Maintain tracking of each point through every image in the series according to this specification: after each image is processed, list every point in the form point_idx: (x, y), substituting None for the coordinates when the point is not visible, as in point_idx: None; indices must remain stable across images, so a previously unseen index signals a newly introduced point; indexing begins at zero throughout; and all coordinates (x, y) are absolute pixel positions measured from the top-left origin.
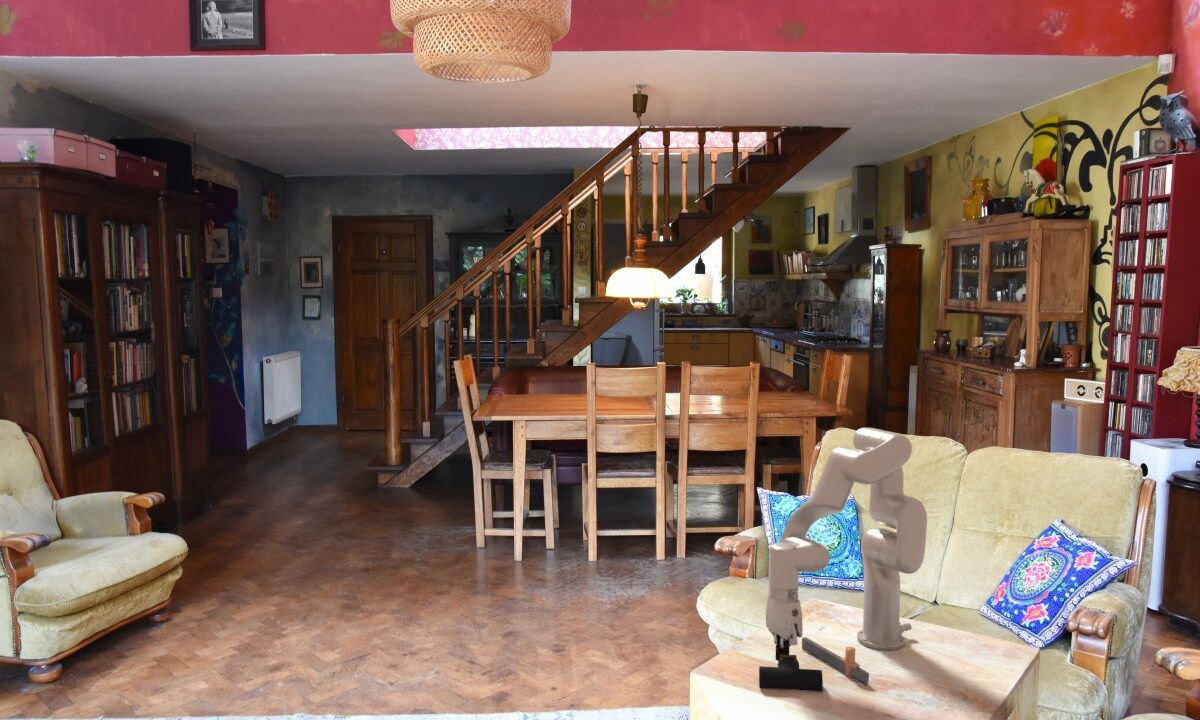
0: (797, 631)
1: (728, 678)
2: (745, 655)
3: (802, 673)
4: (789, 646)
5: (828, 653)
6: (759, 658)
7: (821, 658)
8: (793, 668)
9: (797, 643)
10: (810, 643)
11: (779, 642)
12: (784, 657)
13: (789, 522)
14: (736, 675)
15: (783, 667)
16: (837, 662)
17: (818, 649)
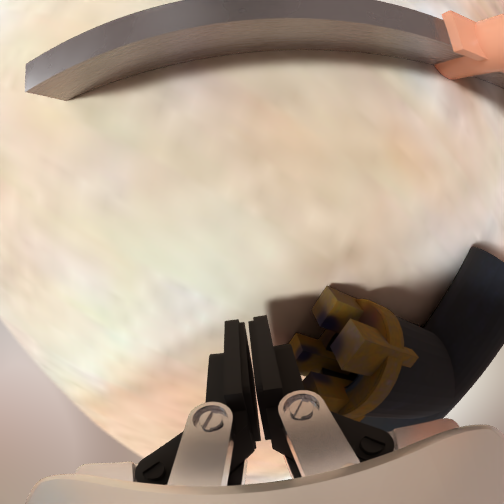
0: (456, 494)
1: (267, 471)
2: (105, 396)
3: (488, 365)
4: (311, 399)
5: (341, 22)
6: (135, 371)
7: (251, 48)
8: (454, 393)
9: (456, 424)
10: (111, 53)
11: (249, 454)
12: (360, 413)
13: None
14: (258, 459)
15: (410, 418)
16: (410, 45)
17: (213, 31)
